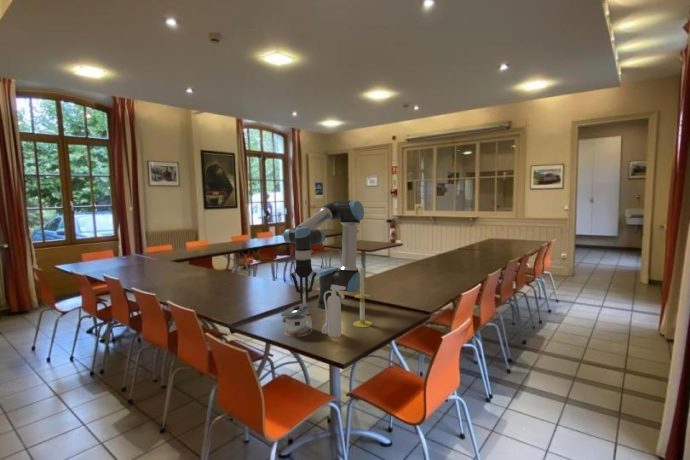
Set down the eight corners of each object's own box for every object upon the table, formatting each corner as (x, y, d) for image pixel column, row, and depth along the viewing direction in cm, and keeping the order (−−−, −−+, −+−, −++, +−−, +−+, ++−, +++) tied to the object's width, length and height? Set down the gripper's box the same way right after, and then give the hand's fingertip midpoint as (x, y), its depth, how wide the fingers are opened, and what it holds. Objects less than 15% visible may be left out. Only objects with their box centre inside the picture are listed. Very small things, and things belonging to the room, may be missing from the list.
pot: (311, 323, 189) (311, 309, 188) (311, 337, 170) (311, 320, 170) (285, 325, 187) (284, 310, 187) (281, 338, 169) (281, 322, 169)
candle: (349, 323, 190) (348, 262, 187) (363, 319, 196) (363, 260, 193) (361, 329, 182) (360, 265, 179) (376, 324, 187) (375, 263, 185)
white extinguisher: (323, 331, 179) (323, 282, 176) (346, 334, 175) (347, 284, 172) (318, 336, 172) (318, 286, 169) (342, 340, 169) (342, 288, 166)
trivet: (312, 326, 186) (312, 325, 186) (312, 336, 173) (312, 335, 173) (285, 327, 185) (285, 326, 185) (283, 338, 171) (283, 337, 171)
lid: (311, 302, 185) (309, 298, 185) (310, 311, 171) (309, 306, 171) (283, 311, 185) (282, 307, 184) (280, 320, 171) (279, 316, 170)
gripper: (316, 257, 180) (317, 303, 182) (290, 257, 179) (291, 304, 181) (316, 259, 173) (317, 307, 175) (289, 260, 172) (290, 308, 174)
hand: (304, 305), depth 178 cm, fingers closed
